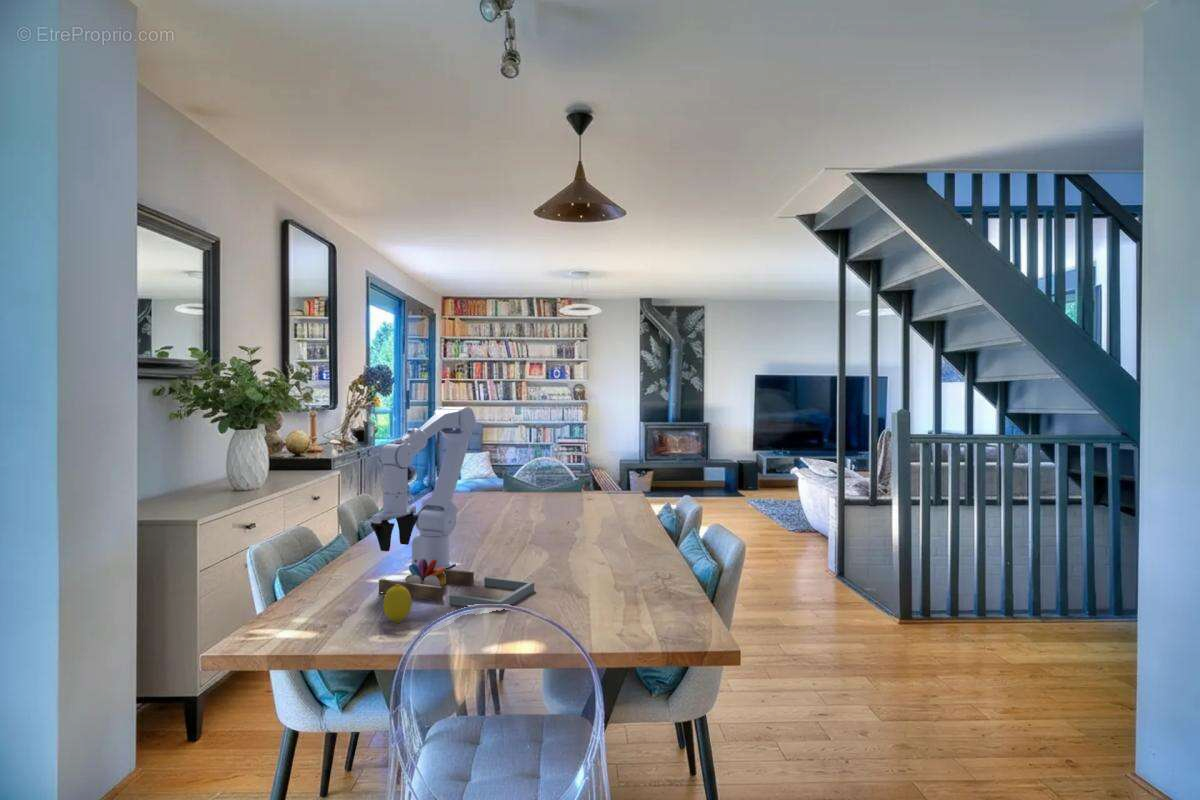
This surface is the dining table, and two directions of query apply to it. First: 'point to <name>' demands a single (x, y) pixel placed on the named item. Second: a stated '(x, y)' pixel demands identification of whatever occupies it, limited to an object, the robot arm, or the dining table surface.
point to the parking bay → (520, 587)
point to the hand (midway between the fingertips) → (395, 547)
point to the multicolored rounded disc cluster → (426, 574)
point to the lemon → (397, 603)
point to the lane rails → (429, 590)
